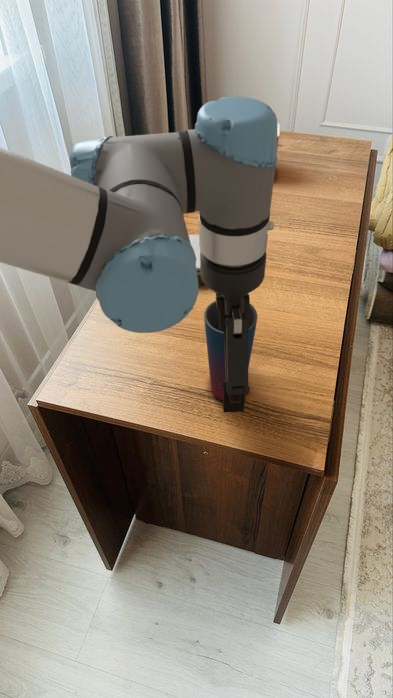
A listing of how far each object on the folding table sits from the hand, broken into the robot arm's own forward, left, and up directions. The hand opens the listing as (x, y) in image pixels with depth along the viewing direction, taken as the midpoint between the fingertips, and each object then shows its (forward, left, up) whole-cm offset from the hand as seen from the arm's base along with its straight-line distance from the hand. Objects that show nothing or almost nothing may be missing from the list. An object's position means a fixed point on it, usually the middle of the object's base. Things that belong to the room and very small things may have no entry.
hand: (228, 371), depth 72 cm
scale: (-4, +30, -4) cm, 31 cm away
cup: (0, 0, -4) cm, 4 cm away
